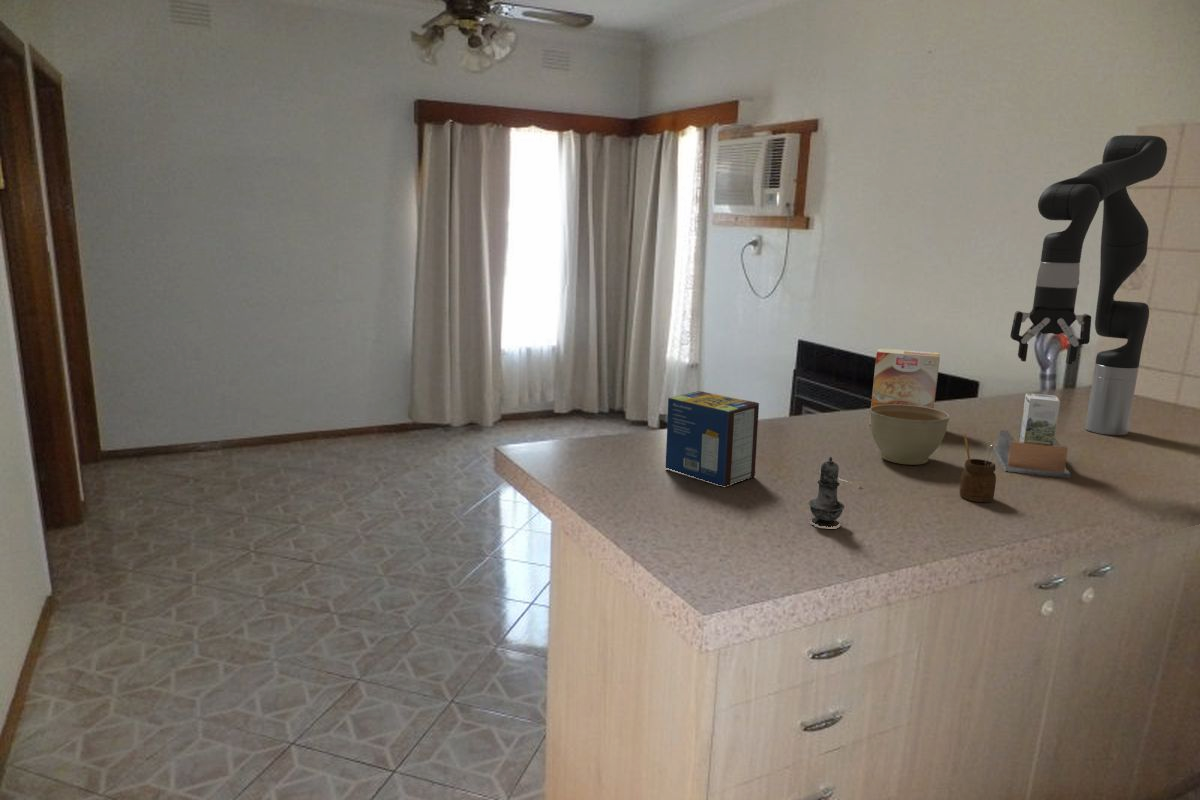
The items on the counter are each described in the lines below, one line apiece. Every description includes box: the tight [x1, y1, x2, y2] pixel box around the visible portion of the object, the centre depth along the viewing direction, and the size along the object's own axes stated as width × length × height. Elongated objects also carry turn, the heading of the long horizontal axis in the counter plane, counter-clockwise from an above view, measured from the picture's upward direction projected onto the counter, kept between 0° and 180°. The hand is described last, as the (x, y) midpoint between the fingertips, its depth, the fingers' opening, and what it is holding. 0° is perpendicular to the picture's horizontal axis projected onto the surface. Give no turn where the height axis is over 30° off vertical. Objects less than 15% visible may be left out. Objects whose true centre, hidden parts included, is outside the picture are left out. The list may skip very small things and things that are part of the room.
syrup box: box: [1018, 393, 1061, 445], centre depth 168 cm, size 6×6×14 cm
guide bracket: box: [993, 429, 1071, 479], centre depth 171 cm, size 18×12×6 cm, turn 161°
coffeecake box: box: [868, 347, 941, 424], centre depth 200 cm, size 15×7×20 cm, turn 68°
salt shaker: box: [808, 456, 845, 527], centre depth 132 cm, size 6×6×12 cm
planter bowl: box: [869, 405, 950, 466], centre depth 171 cm, size 16×16×11 cm
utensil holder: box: [959, 433, 1000, 503], centre depth 147 cm, size 6×6×12 cm
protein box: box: [665, 390, 760, 486], centre depth 158 cm, size 10×15×16 cm
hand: (1045, 362), depth 165 cm, fingers open, 8 cm apart
